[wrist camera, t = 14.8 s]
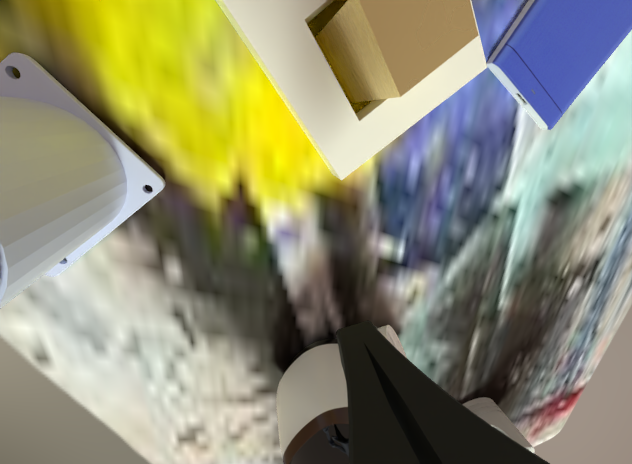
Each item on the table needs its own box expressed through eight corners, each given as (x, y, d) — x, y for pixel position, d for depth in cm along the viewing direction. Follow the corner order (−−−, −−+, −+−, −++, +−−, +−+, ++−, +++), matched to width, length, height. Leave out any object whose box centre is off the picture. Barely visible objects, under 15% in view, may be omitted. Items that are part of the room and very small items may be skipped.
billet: (350, 102, 16) (400, 96, 11) (315, 37, 14) (355, -9, 9) (401, 61, 16) (478, 35, 10) (372, -11, 14) (448, -87, 9)
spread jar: (262, 379, 25) (272, 566, 15) (324, 293, 22) (390, 448, 12) (353, 396, 30) (408, 545, 19) (412, 328, 27) (513, 458, 17)
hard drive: (662, -178, 13) (497, 61, 16) (697, -48, 16) (554, 130, 19) (623, -150, 14) (478, 65, 18) (662, -35, 18) (534, 129, 21)
